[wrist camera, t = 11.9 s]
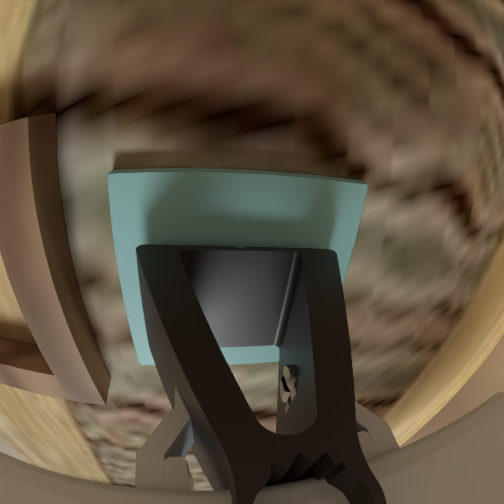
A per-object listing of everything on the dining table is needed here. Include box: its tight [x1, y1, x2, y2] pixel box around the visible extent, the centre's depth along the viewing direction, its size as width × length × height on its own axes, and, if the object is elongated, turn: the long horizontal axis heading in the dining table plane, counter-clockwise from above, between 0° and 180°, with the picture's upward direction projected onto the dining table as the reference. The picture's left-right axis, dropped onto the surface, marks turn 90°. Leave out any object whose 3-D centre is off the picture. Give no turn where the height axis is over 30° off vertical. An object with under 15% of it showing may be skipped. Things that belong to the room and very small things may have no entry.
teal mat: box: [108, 168, 368, 365], centre depth 15 cm, size 12×12×1 cm
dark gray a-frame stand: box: [136, 244, 387, 504], centre depth 9 cm, size 9×6×12 cm, turn 83°
